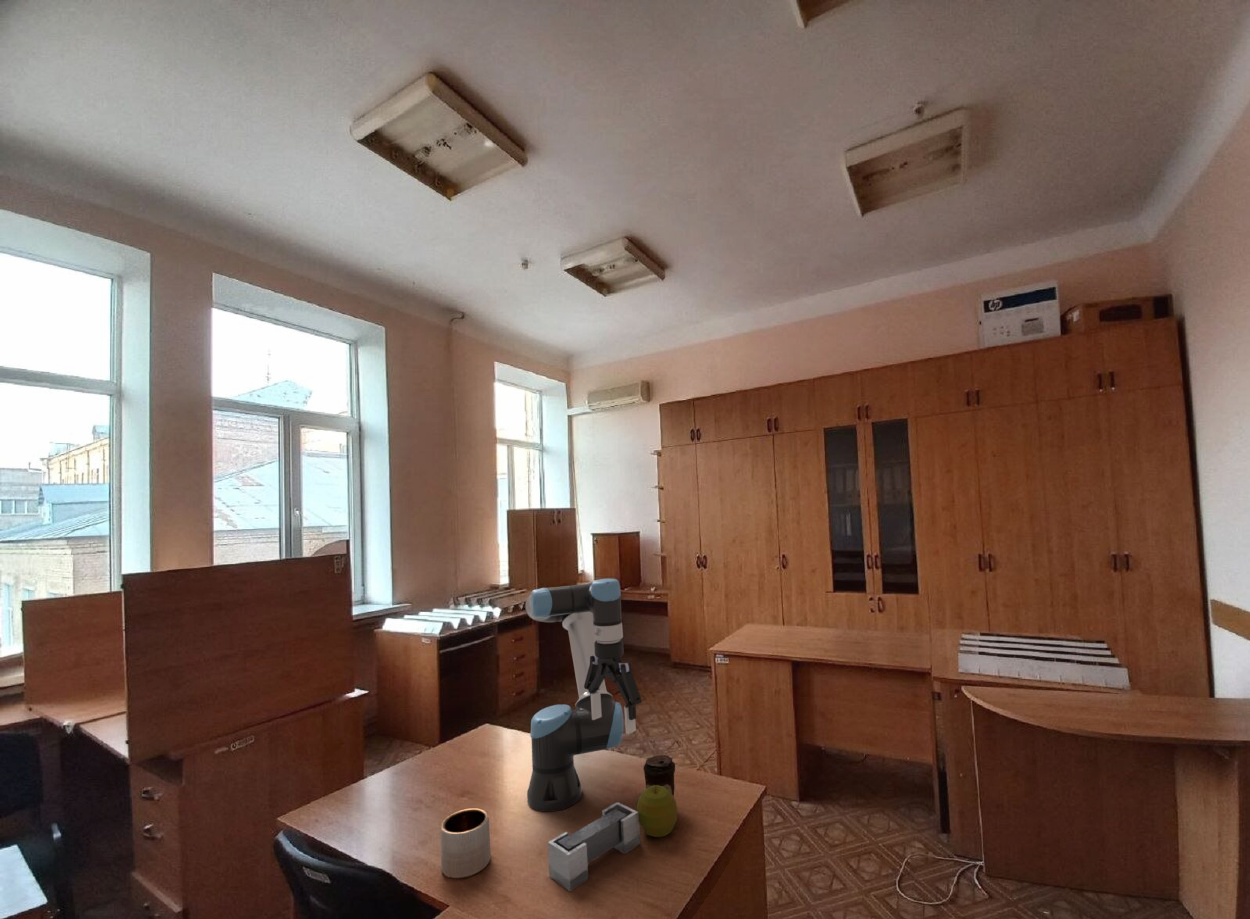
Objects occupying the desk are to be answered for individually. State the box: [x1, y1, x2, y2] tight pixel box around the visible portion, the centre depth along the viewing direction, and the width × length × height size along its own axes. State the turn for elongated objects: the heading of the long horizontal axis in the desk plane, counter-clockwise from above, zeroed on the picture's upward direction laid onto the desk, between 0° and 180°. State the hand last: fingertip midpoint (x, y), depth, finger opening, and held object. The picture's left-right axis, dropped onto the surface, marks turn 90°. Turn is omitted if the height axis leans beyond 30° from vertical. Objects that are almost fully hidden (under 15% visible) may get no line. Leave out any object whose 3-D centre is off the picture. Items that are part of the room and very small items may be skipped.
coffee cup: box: [643, 754, 676, 798], centre depth 138 cm, size 9×8×13 cm
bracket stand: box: [547, 801, 641, 892], centre depth 120 cm, size 7×21×7 cm, turn 134°
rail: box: [558, 809, 627, 864], centre depth 120 cm, size 4×17×5 cm, turn 133°
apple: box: [636, 785, 678, 838], centre depth 129 cm, size 10×10×11 cm
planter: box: [440, 807, 492, 879], centre depth 122 cm, size 11×11×10 cm
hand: (613, 725), depth 135 cm, fingers open, 13 cm apart
